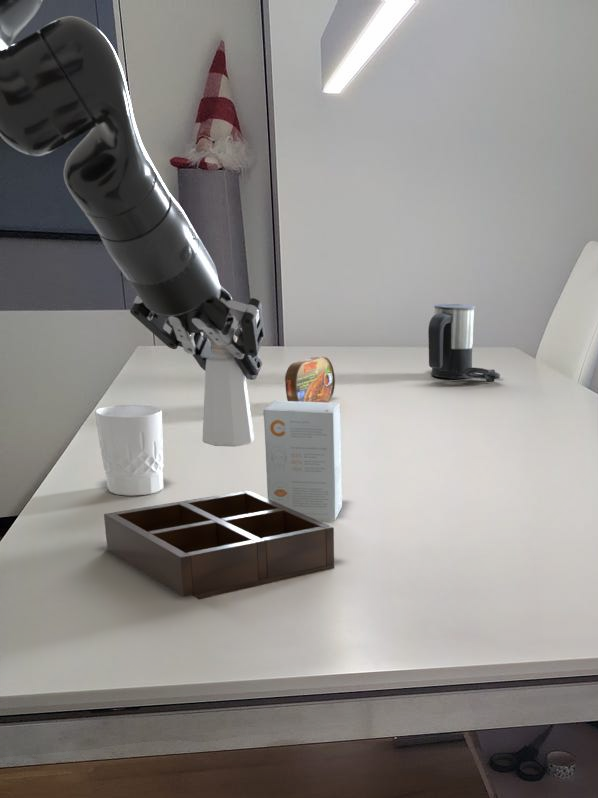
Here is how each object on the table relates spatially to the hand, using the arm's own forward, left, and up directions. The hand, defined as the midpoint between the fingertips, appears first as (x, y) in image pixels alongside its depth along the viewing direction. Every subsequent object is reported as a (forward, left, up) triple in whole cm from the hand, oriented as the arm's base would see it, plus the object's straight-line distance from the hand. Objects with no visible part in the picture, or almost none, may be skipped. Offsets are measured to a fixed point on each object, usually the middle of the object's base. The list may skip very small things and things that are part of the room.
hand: (234, 370), depth 107 cm
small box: (+12, +5, -19) cm, 23 cm away
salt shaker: (-2, -1, -7) cm, 7 cm away
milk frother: (+96, +72, -19) cm, 121 cm away
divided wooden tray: (-5, -5, -19) cm, 20 cm away
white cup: (0, +26, -19) cm, 32 cm away
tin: (+50, +62, -19) cm, 82 cm away
